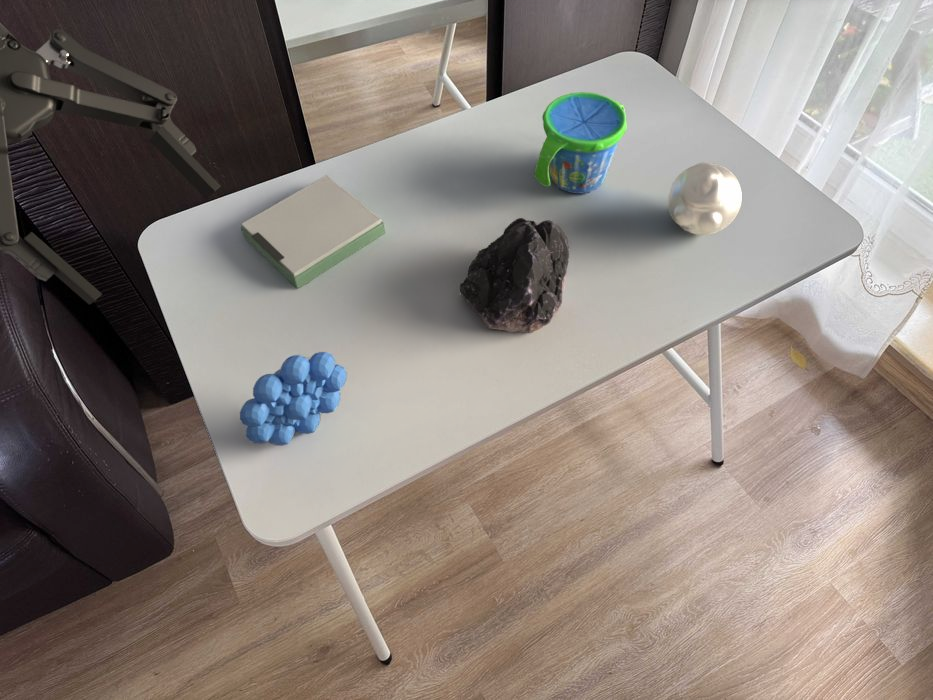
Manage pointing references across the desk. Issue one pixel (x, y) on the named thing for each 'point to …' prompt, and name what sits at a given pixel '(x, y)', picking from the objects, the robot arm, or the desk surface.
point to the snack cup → (580, 141)
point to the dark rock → (519, 277)
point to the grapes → (293, 398)
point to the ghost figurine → (704, 198)
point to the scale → (312, 230)
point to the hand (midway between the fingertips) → (158, 243)
